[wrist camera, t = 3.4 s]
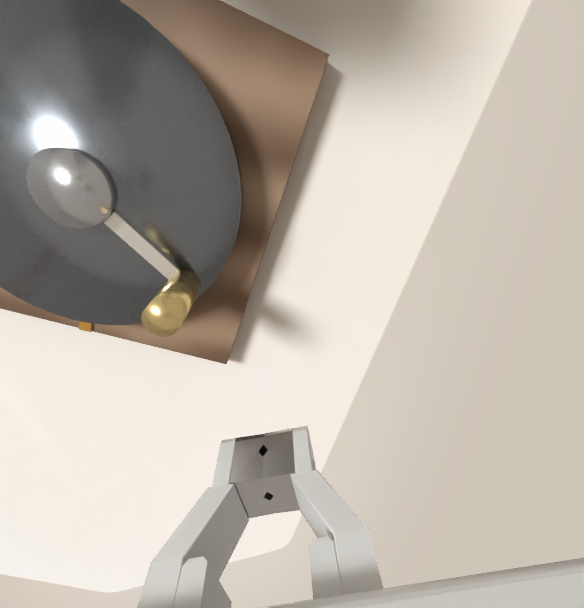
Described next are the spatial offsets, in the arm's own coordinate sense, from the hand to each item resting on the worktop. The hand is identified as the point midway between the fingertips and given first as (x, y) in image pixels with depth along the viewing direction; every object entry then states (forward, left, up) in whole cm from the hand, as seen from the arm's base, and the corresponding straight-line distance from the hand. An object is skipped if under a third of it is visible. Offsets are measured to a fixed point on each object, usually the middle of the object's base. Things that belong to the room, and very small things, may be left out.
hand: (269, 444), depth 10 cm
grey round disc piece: (-2, -15, -18) cm, 23 cm away
